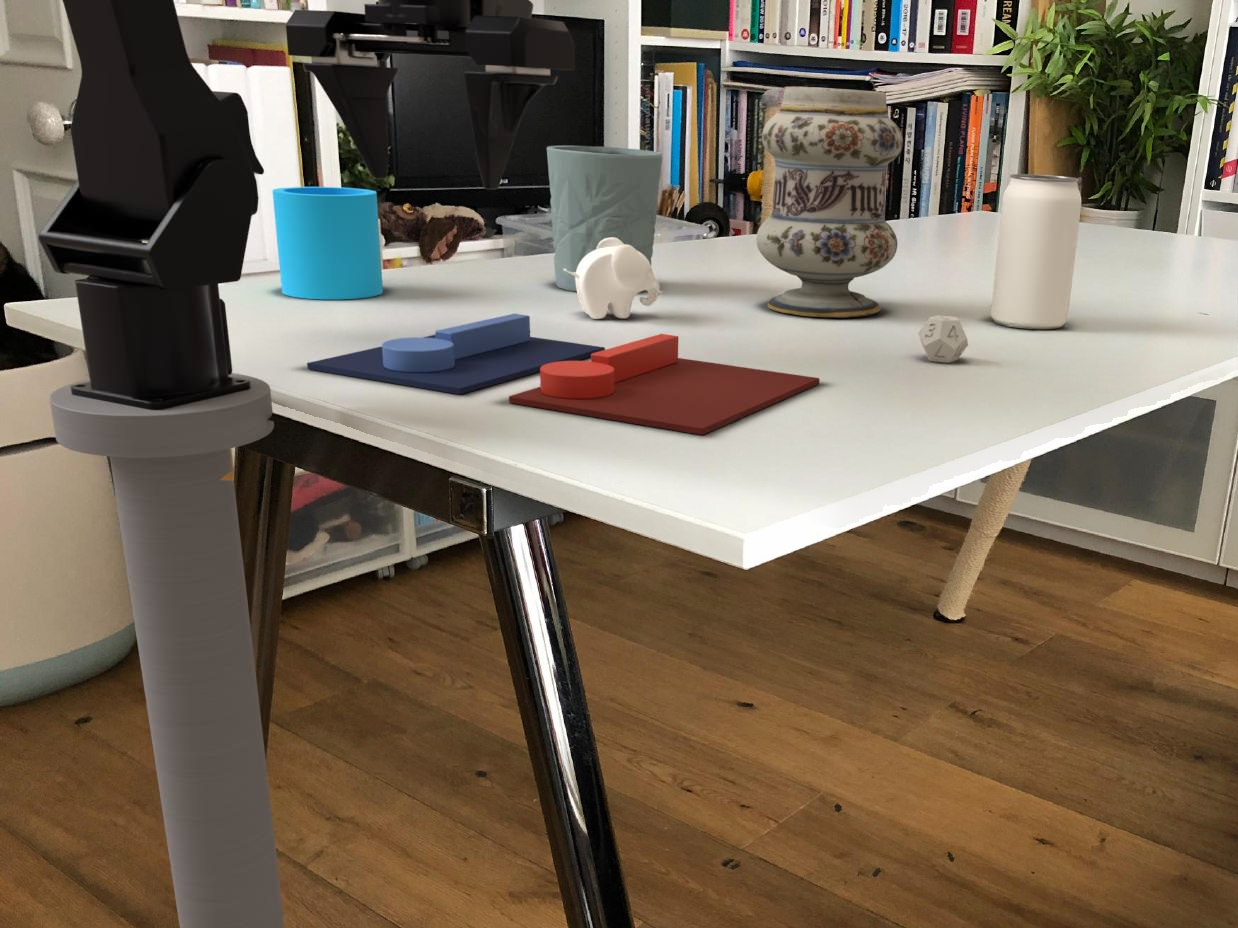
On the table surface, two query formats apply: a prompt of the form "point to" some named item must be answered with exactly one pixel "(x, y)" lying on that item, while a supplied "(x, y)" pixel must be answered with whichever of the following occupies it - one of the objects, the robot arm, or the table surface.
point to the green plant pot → (600, 202)
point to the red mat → (682, 396)
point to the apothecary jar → (829, 197)
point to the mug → (328, 242)
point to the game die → (943, 339)
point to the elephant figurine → (614, 279)
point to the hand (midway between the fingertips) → (434, 184)
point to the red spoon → (607, 368)
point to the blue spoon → (455, 344)
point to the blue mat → (462, 365)
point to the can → (1036, 251)
